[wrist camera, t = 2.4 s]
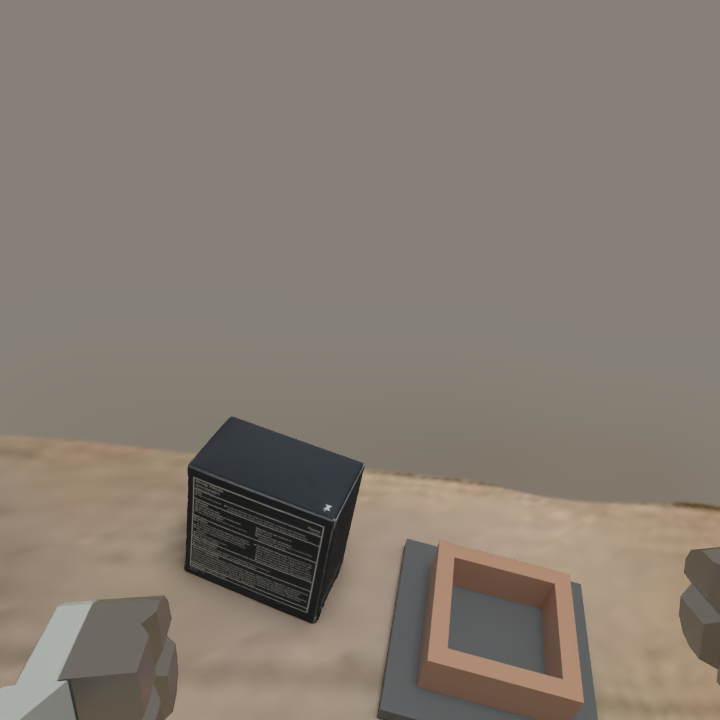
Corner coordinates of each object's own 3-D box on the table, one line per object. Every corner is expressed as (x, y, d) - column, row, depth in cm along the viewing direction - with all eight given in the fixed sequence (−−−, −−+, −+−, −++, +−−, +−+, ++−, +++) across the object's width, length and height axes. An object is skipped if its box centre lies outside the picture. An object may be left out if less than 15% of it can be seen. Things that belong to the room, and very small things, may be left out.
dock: (377, 717, 41) (389, 683, 39) (404, 547, 53) (415, 512, 50) (598, 779, 40) (623, 747, 38) (576, 592, 52) (594, 559, 50)
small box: (346, 558, 51) (370, 459, 45) (315, 627, 46) (338, 525, 40) (224, 510, 53) (232, 409, 47) (180, 571, 47) (183, 466, 42)
